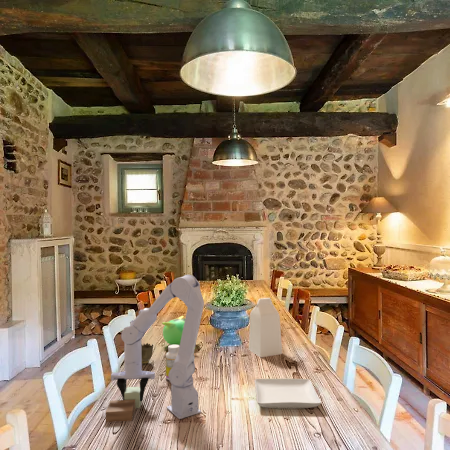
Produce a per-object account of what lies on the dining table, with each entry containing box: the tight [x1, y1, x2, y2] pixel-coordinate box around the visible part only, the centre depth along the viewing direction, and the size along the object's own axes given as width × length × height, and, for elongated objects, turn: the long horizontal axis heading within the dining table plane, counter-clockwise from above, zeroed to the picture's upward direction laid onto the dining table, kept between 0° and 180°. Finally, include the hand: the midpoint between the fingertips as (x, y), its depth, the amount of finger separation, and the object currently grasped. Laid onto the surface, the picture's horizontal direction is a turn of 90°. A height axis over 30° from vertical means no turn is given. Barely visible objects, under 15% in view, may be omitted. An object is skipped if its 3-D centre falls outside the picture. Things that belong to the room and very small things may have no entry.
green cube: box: [124, 386, 143, 409], centre depth 130 cm, size 5×5×5 cm
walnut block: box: [105, 399, 136, 423], centre depth 123 cm, size 8×8×4 cm
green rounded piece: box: [161, 315, 186, 346], centre depth 196 cm, size 18×17×15 cm
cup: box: [142, 342, 154, 365], centre depth 171 cm, size 8×7×8 cm
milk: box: [248, 297, 283, 358], centre depth 186 cm, size 12×12×26 cm
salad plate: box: [254, 378, 322, 409], centre depth 135 cm, size 21×21×3 cm
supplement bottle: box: [165, 344, 179, 381], centre depth 153 cm, size 7×7×13 cm
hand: (133, 400), depth 130 cm, fingers closed on green cube, 5 cm apart
